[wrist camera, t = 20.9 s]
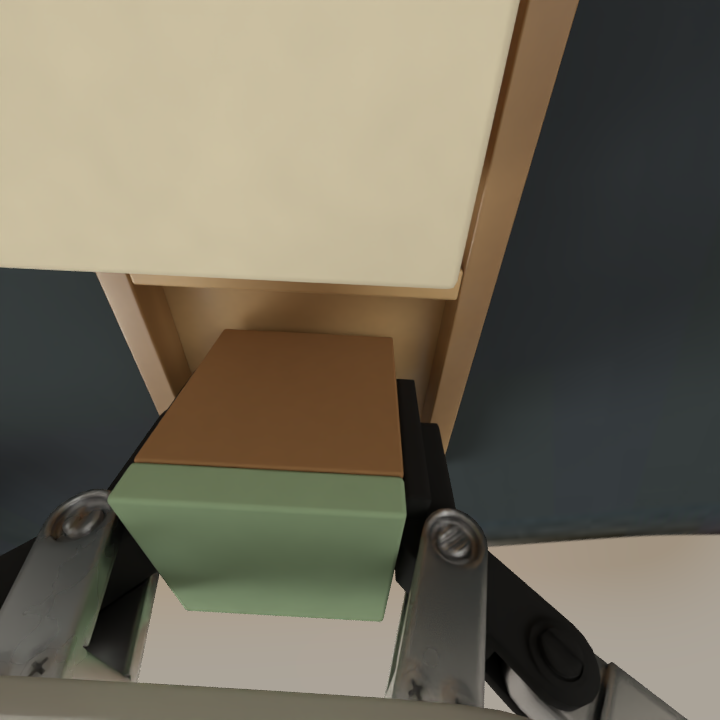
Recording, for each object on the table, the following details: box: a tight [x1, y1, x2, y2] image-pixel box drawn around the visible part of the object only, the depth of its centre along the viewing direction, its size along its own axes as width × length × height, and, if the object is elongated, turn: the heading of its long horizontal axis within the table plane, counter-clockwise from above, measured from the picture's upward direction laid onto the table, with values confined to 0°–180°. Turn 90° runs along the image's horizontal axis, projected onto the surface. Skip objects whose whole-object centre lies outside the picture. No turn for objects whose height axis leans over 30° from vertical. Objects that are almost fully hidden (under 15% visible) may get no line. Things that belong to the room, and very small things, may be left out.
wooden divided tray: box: [96, 0, 579, 454], centre depth 9 cm, size 10×18×2 cm, turn 178°
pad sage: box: [107, 329, 407, 621], centre depth 9 cm, size 5×5×6 cm
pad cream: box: [0, 0, 520, 289], centre depth 4 cm, size 5×5×6 cm
